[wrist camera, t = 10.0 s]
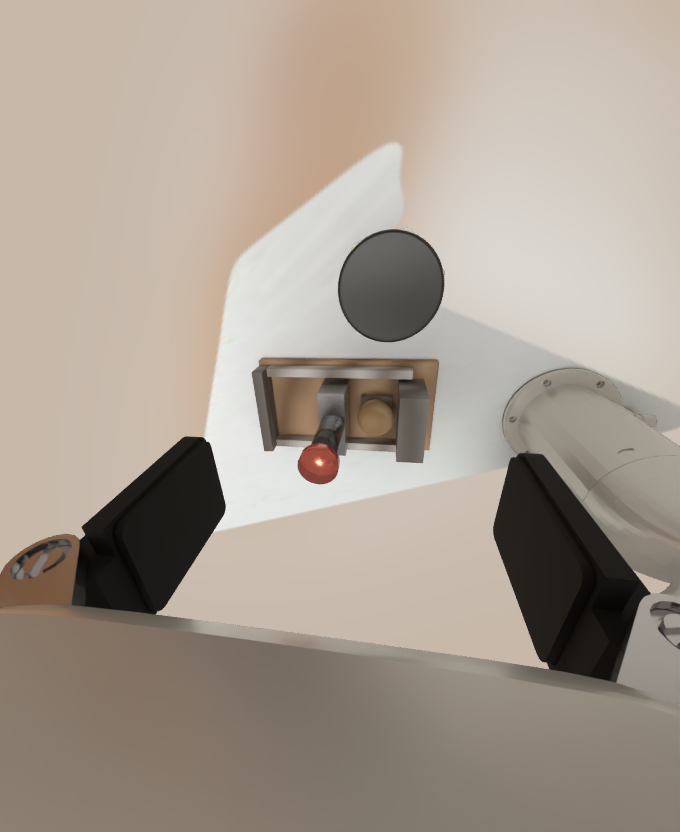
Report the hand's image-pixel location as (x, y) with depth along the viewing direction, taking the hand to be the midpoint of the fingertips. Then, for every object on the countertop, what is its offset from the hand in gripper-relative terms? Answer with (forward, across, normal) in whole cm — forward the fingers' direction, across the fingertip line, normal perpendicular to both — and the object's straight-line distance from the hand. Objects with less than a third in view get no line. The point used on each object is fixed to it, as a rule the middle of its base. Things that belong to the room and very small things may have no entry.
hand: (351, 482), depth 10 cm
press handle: (+29, +5, +11) cm, 31 cm away
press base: (+30, +4, +11) cm, 32 cm away
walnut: (+26, 0, +11) cm, 29 cm away
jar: (+31, -1, -4) cm, 31 cm away
